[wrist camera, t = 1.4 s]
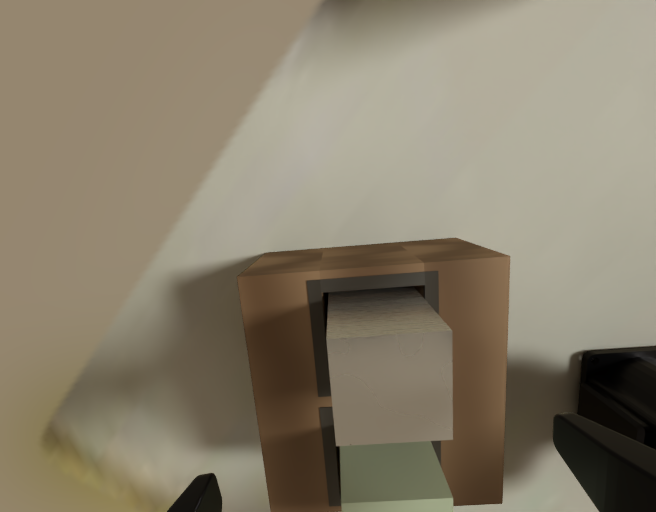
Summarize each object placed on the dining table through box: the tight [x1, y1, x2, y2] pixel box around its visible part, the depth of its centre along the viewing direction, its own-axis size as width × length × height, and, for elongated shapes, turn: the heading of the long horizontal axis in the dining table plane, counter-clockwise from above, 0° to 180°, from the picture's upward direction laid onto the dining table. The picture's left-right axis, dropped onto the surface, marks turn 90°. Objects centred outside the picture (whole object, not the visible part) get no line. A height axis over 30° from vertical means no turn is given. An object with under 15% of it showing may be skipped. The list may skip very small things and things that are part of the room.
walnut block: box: [237, 238, 510, 512], centre depth 17 cm, size 12×13×6 cm
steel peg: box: [326, 286, 453, 446], centre depth 13 cm, size 4×4×6 cm
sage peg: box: [340, 441, 453, 512], centre depth 14 cm, size 4×4×6 cm
